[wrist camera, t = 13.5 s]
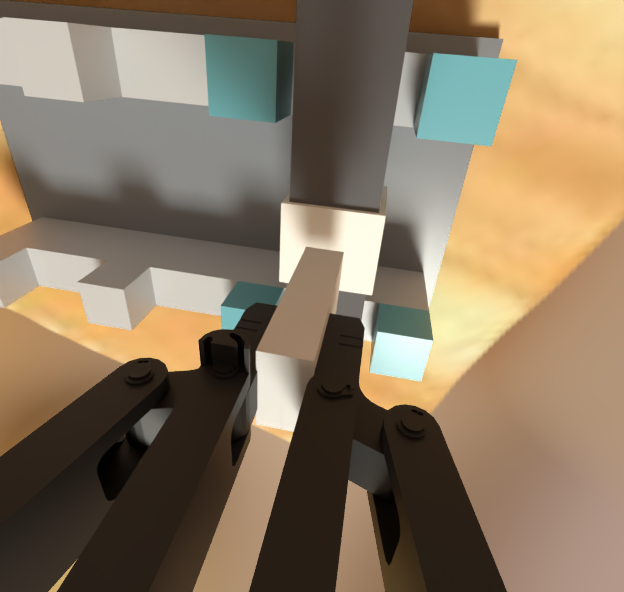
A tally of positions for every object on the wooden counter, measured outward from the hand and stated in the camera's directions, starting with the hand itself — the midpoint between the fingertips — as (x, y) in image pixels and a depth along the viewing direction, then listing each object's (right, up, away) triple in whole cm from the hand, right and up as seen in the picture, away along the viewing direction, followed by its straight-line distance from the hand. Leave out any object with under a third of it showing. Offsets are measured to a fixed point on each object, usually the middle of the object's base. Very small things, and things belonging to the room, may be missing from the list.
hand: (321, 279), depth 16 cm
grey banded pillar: (+1, +4, +6) cm, 7 cm away
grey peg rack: (-7, +8, +12) cm, 16 cm away
